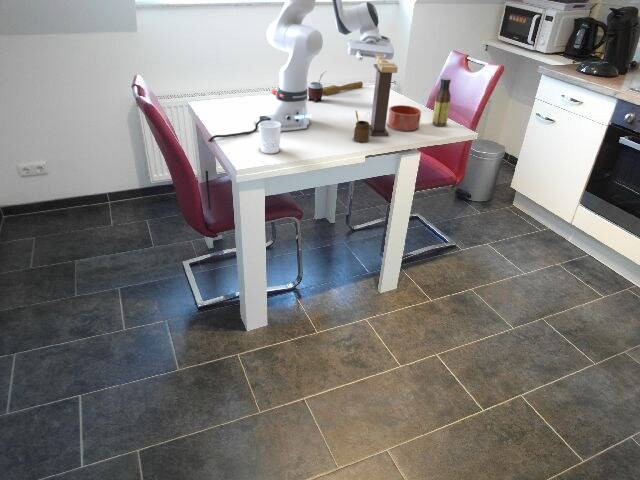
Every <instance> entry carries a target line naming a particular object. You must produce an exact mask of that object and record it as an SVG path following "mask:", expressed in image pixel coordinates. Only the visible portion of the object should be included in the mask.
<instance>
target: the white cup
mask: <svg viewBox="0 0 640 480" xmlns="http://www.w3.org/2000/svg"><path fill="white" fill-rule="evenodd" d="M258 132H259V133H258V134H259V143H260V151H261V152H262V153H264V154H277V153H278V152H279V151H280V145H281V132H282V131H281V123H279V122H277V121H270V120H268V121H262V122H260V123H259V126H258Z"/></svg>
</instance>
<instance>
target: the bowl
mask: <svg viewBox="0 0 640 480" xmlns="http://www.w3.org/2000/svg"><path fill="white" fill-rule="evenodd" d="M421 116H422V110H421V109H419V108H417V107H416V106H415V107H414V106H411V105H403V104H402V105H401V104H400V105H399V104H398V105H397V104H396V105H392V106H390V107H388V114H387V125H388V127H389V128H391V129H393V130H397V131H400V132H413V131H415V130H417V129H419V127H420V122H421Z"/></svg>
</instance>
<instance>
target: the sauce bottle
mask: <svg viewBox="0 0 640 480" xmlns="http://www.w3.org/2000/svg"><path fill="white" fill-rule="evenodd" d="M451 81H452V80H451V78H450V77H441V78H440V85H439V86H440V87H439V89H438V91H437V92H436V94H435V99H434V101H435V102H434V108H433V115H432V125H433V126H436V127H445V126H446V125H447V123H448V119H449V118H448V117H449V111H450V105H451V96H452V95H451V91H450V84H451Z"/></svg>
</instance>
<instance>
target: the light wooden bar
mask: <svg viewBox="0 0 640 480" xmlns="http://www.w3.org/2000/svg"><path fill="white" fill-rule="evenodd" d="M374 60H376V62H377V64H378V69H379V70H380V71H381V72H389V73H392V74H397V73H398V68H399V67H398V66H397V65H396V64H395V62H389V60H388V59H385V58H384V57H383V56H382V55H381V54H376V56H375V58H374Z"/></svg>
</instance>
